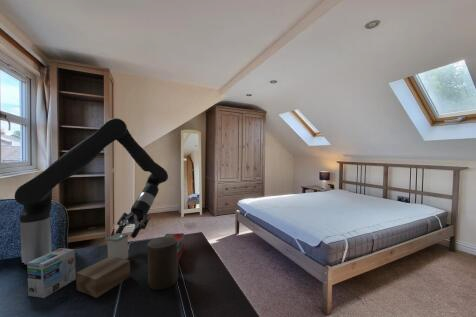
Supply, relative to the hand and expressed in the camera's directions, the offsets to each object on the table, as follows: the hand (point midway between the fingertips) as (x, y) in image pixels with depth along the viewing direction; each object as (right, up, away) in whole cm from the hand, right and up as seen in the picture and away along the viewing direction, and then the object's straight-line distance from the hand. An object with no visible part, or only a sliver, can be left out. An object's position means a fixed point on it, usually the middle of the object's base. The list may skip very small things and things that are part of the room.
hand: (124, 236), depth 91 cm
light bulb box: (-13, -10, -20) cm, 26 cm away
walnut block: (+3, -9, -19) cm, 21 cm away
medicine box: (+21, -8, -3) cm, 23 cm away
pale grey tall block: (-1, -9, -3) cm, 9 cm away
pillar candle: (+24, -9, -19) cm, 31 cm away
